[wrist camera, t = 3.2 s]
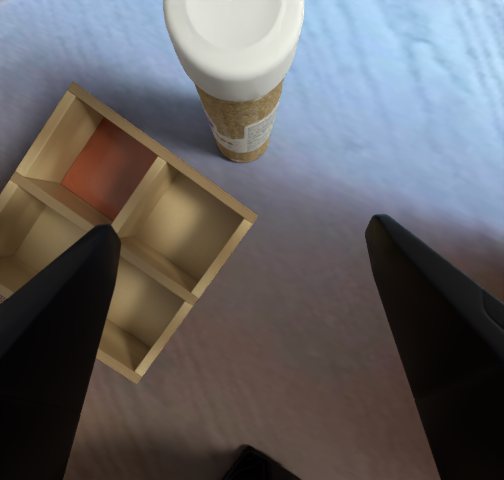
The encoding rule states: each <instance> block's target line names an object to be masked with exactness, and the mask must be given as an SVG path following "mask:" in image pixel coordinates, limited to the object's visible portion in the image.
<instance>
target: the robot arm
mask: <svg viewBox="0 0 504 480" xmlns="http://www.w3.org/2000/svg"><path fill="white" fill-rule="evenodd" d="M365 238H366V243H367V248H368V253H369V258H370V263H371V268H372V272H373V276H374V279H375V282H376V285H377V288H378V292H379V295H380V298H381V301H382V304H383V307H384V310H385V313H386V316H387V319H388V322H389V325H390V328H391V331H392V334H393V337H394V340H395V343H396V346H397V349H398V352H399V355H400V358H401V361H402V364H403V367H404V370H405V373H406V376H407V379H408V382H409V385H410V388H411V391H412V394H413V397H414V399H415V403H416V406H417V409H418V412H419V415H420V418H421V421H422V424H423V427H424V430H425V433H426V436H427V439H428V442H429V445H430V448H431V451H432V454H433V457H434V460H435V463H436V467H437V470H438V473H439V476H440V478H441V480H504V303H503V302H502V301H501V300H499V299H498V298H496V297H495V296H494V295H492V294H491V293H490V292H489V291H487V290H486V289H484V288H482V286H481V285H479V284H478V283H477V282H475V281H474V280H473V279H471V278H470V277H469V276H467V275H466V274H465V273H463V272H462V271H461V270H459V269H458V268H457V267H456V266H454V265H453V264H452V263H450V262H449V261H448V260H446V259H445V258H444V257H442V256H441V255H440V254H438V253H437V252H436V251H434V250H433V249H432V248H430V247H429V246H428V245H427V244H425V243H424V242H423V241H421V240H420V239H419V238H417V237H416V236H415V235H413V234H412V233H411V232H409V231H408V230H407V229H405V228H404V227H403V226H402V225H400V224H399V223H398V222H396V221H395V220H394V219H392V218H391V217H390V216H388V215H386V214H376V215H374V216H372V218H371V220H370V222H369V224H368V227H367V229H366V231H365ZM120 252H121V240H120V238H119V236H118V235H117V233H116V231H115V230H114V228H113V227H112V226H111V225H110V224H98V225H96V226H94V227H93V228H92V229H91V230H90V231H88V232H87V233H86V234H85V235H84V236H82V237H81V238H80V239H79V240H78V241H76V242H75V243H74V244H73V245H72V246H70V247H69V248H68V249H67V250H65V251H64V252H63V253H62V254H61V255H59V256H58V257H57V258H56V259H55V260H53V261H52V262H51V263H50V264H49V265H47V266H46V267H45V268H44V269H43V270H41V271H40V272H39V273H38V274H36V275H35V276H34V277H33V278H32V279H30V280H29V281H28V282H27V283H26V284H24V285H23V286H22V287H21V288H20V289H18V290H17V291H16V292H15V293H14V294H12V295H11V296H10V297H9V298H7V299H6V300H5V301H4V302H3V303H1V304H0V480H63V477H64V474H65V470H66V466H67V463H68V459H69V455H70V452H71V448H72V444H73V441H74V437H75V433H76V430H77V426H78V422H79V419H80V413H81V411H82V407H83V403H84V399H85V396H86V392H87V388H88V385H89V381H90V377H91V374H92V370H93V366H94V363H95V359H96V355H97V352H98V348H99V344H100V341H101V337H102V333H103V330H104V326H105V322H106V318H107V315H108V311H109V307H110V304H111V300H112V296H113V293H114V289H115V285H116V279H117V273H118V266H119V259H120ZM249 454H251V455H249ZM222 480H301V479H299V478H298V477H296V476H295V475H293V474H292V473H290V472H289V471H287V470H286V469H284V468H283V467H281V466H280V465H278V464H277V463H275V462H274V461H272V460H270V459H269V458H267V457H266V456H264V455H263V454H261V453H260V452H258V451H257V450H255V449H254V448H252V447H248V448H246V449H245V450H244V452H243V453H242V454H241V456H240V457H239V458H238V459H237V461H236V462H235V463H234V465H233V466H232V467H231V468H230V470H229V471H228V472H227V474H226V475H225V476H224V478H223V479H222Z"/></svg>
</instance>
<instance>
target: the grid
mask: <svg viewBox="0 0 504 480" xmlns="http://www.w3.org/2000/svg"><path fill="white" fill-rule="evenodd" d="M257 217H258V215H256V214H255V213H254V212H252V211H251V210H250V209H248V208H247V207H245V206H244V205H243V204H241V203H240V202H239V201H237V200H236V199H234V198H233V197H232V196H230V195H229V194H228V193H226V192H225V191H223V190H222V189H221V188H219V187H218V186H217V185H215V184H214V183H213V182H211V181H210V180H208V179H207V178H206V177H204V176H203V175H202V174H200V173H199V172H197V171H196V170H195V169H193V168H192V167H191V166H189V165H188V164H186V163H185V162H184V161H182V160H181V159H180V158H178V157H177V156H175V155H174V154H173V153H171V152H170V151H169V150H167V149H166V148H164V147H163V146H162V145H160V144H159V143H158V142H156V141H155V140H153V139H152V138H151V137H149V136H148V135H147V134H145V133H144V132H142V131H141V130H140V129H138V128H137V127H136V126H134V125H133V124H132V123H130V122H129V121H127V120H126V119H125V118H123V117H122V116H121V115H119V114H118V113H116V112H115V111H114V110H112V109H111V108H110V107H108V106H107V105H105V104H104V103H103V102H101V101H100V100H99V99H97V98H96V97H94V96H93V95H92V94H90V93H89V92H88V91H86V90H85V89H83V88H82V87H81V86H79V85H78V84H77V83H75V82H72V84H71V85H70V87H69V88H68V90H67V91H66V93H65V94H64V96H63V98H62V99H61V101H60V102H59V104H58V105H57V107H56V108H55V110H54V112H53V113H52V115H51V116H50V118H49V119H48V121H47V122H46V124H45V126H44V127H43V129H42V130H41V132H40V133H39V135H38V136H37V138H36V140H35V141H34V143H33V144H32V146H31V147H30V149H29V150H28V152H27V154H26V155H25V157H24V158H23V160H22V161H21V163H20V164H19V166H18V167H17V169H16V172H14V174H13V175H12V177H11V178H10V180H9V182H8V183H7V185H6V186H5V188H4V189H3V191H2V193H1V194H0V295H2V296H3V297H5V298H6V299H7V298H9V297H10V296H11V295H12V294H14V293H15V292H16V291H17V290H18V289H20V288H21V287H22V286H23V285H24V284H26V283H27V282H28V281H29V280H30V279H32V278H33V277H34V276H35V275H36V274H38V273H39V272H40V271H41V270H43V269H44V268H45V267H46V266H47V265H49V264H50V263H51V262H52V261H53V260H55V259H56V258H57V257H58V256H59V255H61V254H62V253H63V252H64V251H65V250H67V249H68V248H69V247H70V246H72V245H73V244H74V243H75V242H76V241H78V240H79V239H80V238H81V237H82V236H84V235H85V234H86V233H87V232H88V231H90V230H91V229H92V228H93V227H94V226H96V225H98V224H110V225H111V226H112V227H113V228H114V230H115V231H116V233H117V235H118V236H119V238H120V240H121V252H120V259H119V266H118V273H117V279H116V285H115V289H114V293H113V296H112V300H111V304H110V307H109V311H108V315H107V318H106V322H105V326H104V330H103V333H102V337H101V341H100V344H99V348H98V352H97V355H96V358H97V359H99V360H100V361H102V362H103V363H105V364H106V365H108V366H109V367H111V368H112V369H114V370H116V371H117V372H119V373H120V374H122V375H123V376H125V377H126V378H128V379H129V380H131V381H132V382H134V383H135V384H137V383H138V382H139V380H140V379H141V378H142V376H143V375H144V374H145V372H146V371H147V369H148V368H149V367H150V365H151V364H152V362H153V361H154V360H155V358H156V357H157V356H158V354H159V353H160V351H161V350H162V349H163V347H164V346H165V344H166V343H167V342H168V340H169V339H170V338H171V336H172V335H173V333H174V332H175V331H176V329H177V328H178V326H179V325H180V324H181V322H182V321H183V320H184V318H185V317H186V315H187V314H188V313H189V311H190V310H191V309H192V307H193V306H194V304H195V303H196V302H197V300H198V299H199V297H200V296H201V295H202V293H203V292H204V291H205V289H206V288H207V286H208V285H209V284H210V282H211V281H212V279H213V278H214V277H215V275H216V274H217V273H218V271H219V270H220V268H221V267H222V266H223V264H224V263H225V261H226V260H227V259H228V257H229V256H230V255H231V253H232V252H233V250H234V249H235V248H236V246H237V245H238V243H239V242H240V241H241V239H242V238H243V237H244V235H245V234H246V232H247V231H248V230H249V228H250V227H251V225H252V224H253V223H254V221H255V220H256V219H257Z"/></svg>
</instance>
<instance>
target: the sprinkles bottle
mask: <svg viewBox="0 0 504 480" xmlns="http://www.w3.org/2000/svg"><path fill="white" fill-rule="evenodd" d="M163 10H164V18H165V23H166V27H167V30H168V33H169V36H170V39H171V41H172V44H173V46H174V49H175V51H176V54H177V56H178V58H179V60H180V63H181V65H182V66H183V68H184V70H185V72H186V74H187V75H188V76H189V77H190V79H191V80H192V81H193V82H194V83H195V86H196V89H197V91H198V94H199V96H200V100H201V104H202V106H203V109H204V111H205V114H206V116H207V119H208V121H209V124H210V127H211V129H212V132H213V134H214V136H215V141H216V144H217V146H218V148H219V150H220V151H221V153H222V154H223V155H224V156H225V157H227V158H228V159H230V160H232V161H234V162H239V163H245V162H250V161H253V160H256V159H258V158H259V157H260V156H261V155H262V154H263V153H264V152H265V150H266V149H267V146H268V144H269V140H270V133H271V130H272V127H273V123H274V120H275V116H276V112H277V108H278V105H279V101H280V97H281V93H282V85H283V80H284V77H285V75H286V74H287V72H288V70H289V68H290V66H291V64H292V61H293V59H294V55H295V52H296V48H297V45H298V41H299V37H300V32H301V28H302V24H303V17H304V0H163Z"/></svg>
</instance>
